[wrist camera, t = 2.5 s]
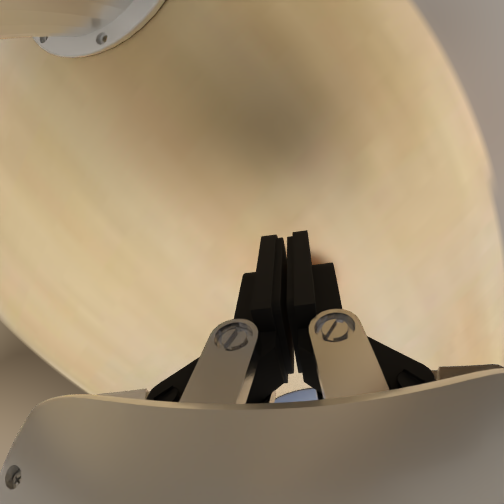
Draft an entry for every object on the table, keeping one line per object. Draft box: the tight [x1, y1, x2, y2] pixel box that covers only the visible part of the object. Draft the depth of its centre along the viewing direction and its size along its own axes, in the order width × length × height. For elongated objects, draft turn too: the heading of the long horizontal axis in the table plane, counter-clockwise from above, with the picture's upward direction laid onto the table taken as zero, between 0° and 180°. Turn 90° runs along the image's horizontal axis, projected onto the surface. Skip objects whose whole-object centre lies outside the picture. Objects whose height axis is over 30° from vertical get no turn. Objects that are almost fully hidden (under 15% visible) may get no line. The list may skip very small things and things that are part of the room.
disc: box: [274, 388, 317, 403], centre depth 36 cm, size 14×14×1 cm
